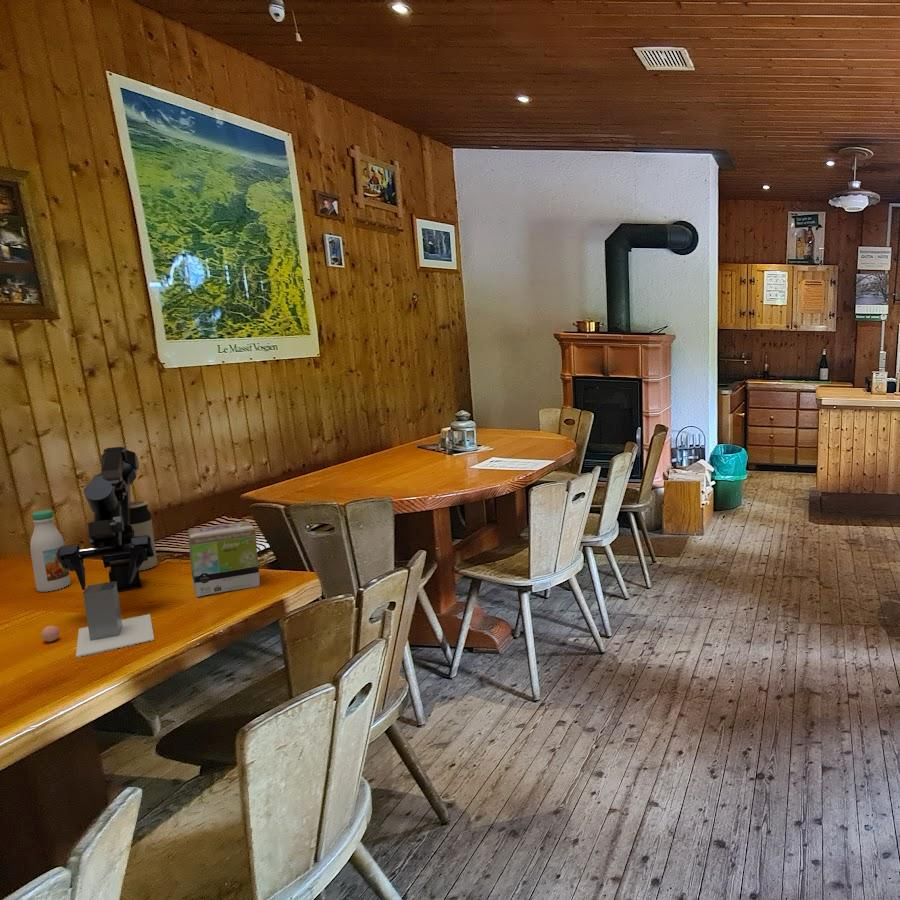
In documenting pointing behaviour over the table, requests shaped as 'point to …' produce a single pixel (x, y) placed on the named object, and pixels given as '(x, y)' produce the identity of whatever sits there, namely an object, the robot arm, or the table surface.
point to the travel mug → (142, 528)
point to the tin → (103, 610)
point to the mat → (116, 637)
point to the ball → (50, 633)
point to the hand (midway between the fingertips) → (106, 585)
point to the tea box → (223, 558)
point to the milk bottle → (47, 553)
